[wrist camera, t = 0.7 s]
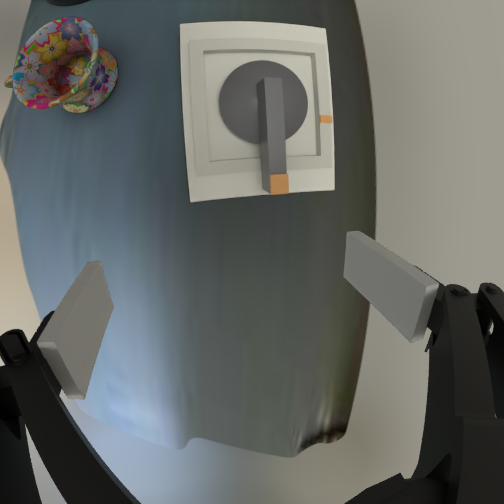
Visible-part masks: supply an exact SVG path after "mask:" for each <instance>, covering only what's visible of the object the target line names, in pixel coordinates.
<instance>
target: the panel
mask: <svg viewBox="0 0 504 504" xmlns="http://www.w3.org/2000/svg"><path fill="white" fill-rule="evenodd" d="M180 56H181V85H182V105H183V121H184V136H185V149H186V161H187V173H188V183H189V193H190V202H197V201H205V200H214V199H224V198H233V197H244V196H255V195H266V194H270V193H268V192H266V191H265V190H263V189H262V174H261V155H260V144H254V143H250V142H247V141H244V140H242V139H240V138H239V137H237V136H236V135H235V134H233V133H232V132H231V131H230V130H229V129H228V127H227V126H226V125H225V123H224V121H223V120H222V117H221V115H220V111H219V93H220V90H221V88H222V85H223V83H224V82H225V80H226V78H227V77H228V76H229V75H230V73H231V72H232V71H234V70H235V69H236V68H238V67H239V66H241V65H243V64H245V63H248V62H251V61H257V60H267V61H273V62H276V63H279V64H281V65H283V66H285V67H287V68H289V69H290V70H291V71H292V72H294V73H295V74H296V75H297V77H298V78H299V79H300V80H301V82H302V84H303V86H304V88H305V90H306V93H307V98H308V110H307V115H306V118H305V121H304V123H303V124H302V126H301V127H300V129H299V130H298V131H297V132H296V133H295V134H294V135H293V136H291V137H290V138H288V139H286V140H285V142H286V166H287V174H288V179H289V193H292V192H307V191H324V190H334V130H333V109H332V92H331V79H330V67H329V56H328V46H327V38H326V29H324V28H317V27H310V26H302V25H294V24H283V23H269V22H243V21H228V22H201V23H187V24H180Z"/></svg>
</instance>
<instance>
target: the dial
mask: <svg viewBox="0 0 504 504" xmlns="http://www.w3.org/2000/svg"><path fill="white" fill-rule="evenodd" d="M307 110H308V98H307V93H306V90H305V88H304V86H303V84H302V82H301V80H300V79H299V78H298V77H297V75H296V74H295V73H294V72H292V71H291V70H290V69H289V68H287V67H285V66H283V65H281V64H279V63H276V62H273V61H267V60H257V61H251V62H248V63H245V64H243V65H241V66H239V67H238V68H236V69H235V70H234V71H232V72H231V73H230V75H229V76H228V77H227V78H226V80H225V82H224V83H223V85H222V88H221V90H220V93H219V111H220V115H221V117H222V120H223V121H224V123H225V125H226V126H227V127H228V129H229V130H230V131H231V132H232V133H233V134H235V135H236V136H237V137H239V138H240V139H242V140H244V141H247V142H250V143H254V144H260V155H261V174H262V189H263V190H265V191H266V192H268V193H270V194H271V195H275V194H288V193H289V179H288V174H287V166H286V142H285V140H286V139H288V138H290V137H291V136H293V135H294V134H295V133H296V132H297V131H298V130H299V129H300V127H301V126H302V124H303V123H304V121H305V118H306V115H307Z"/></svg>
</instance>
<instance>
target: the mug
mask: <svg viewBox="0 0 504 504" xmlns="http://www.w3.org/2000/svg"><path fill="white" fill-rule="evenodd" d="M117 75H118V68H117V63H116V60H115V58H114V57H113V55H112V54H111V53H110V52H108V51H107V50H105V49H102V48H98V37H97V33H96V31H95V29H94V27H93V26H92V25H91V24H90V23H89V22H88V21H86V20H84V19H82V18H79V17H63V18H59V19H56V20H54V21H51V22H49V23H48V24H46V25H44V26H43V27H41V28H40V29H39V30H37V31H36V32H35V33H34V34H33V35H32V36H31V37H30V38H29V39H28V41H27V42H26V43H25V45H24V46H23V48H22V49H21V51H20V53H19V55H18V57H17V60H16V63H15V66H14V70H13V75H12V76H9V77H8V78H6V80H5V86H6V87H8V88H14V91H15V94H16V96H17V97H18V99H19V100H20V101H21V102H22V103H23V104H24V105H26V106H28V107H30V108H34V109H45V108H50V107H53V106H55V105H58V104H60V106H61V107H62V108H64V109H65V110H67V111H70V112H74V113H82V112H86V111H89V110H92V109H94V108H96V107H97V106H99V105H100V104H101V103H102V102H104V101H105V100H106V99H107V97H108V96H109V95H110V93H111V92H112V90H113V88H114V86H115V84H116V80H117Z"/></svg>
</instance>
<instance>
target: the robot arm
mask: <svg viewBox="0 0 504 504" xmlns="http://www.w3.org/2000/svg"><path fill="white" fill-rule="evenodd" d="M47 1H48V2H49V3H51V4H54V5H59V6H68V5H74V4H79V3H82V2H85V1H88V0H47ZM343 277H344V278H345V279H346V280H348V281H349V282H350V283H351V284H352V285H353V286H354V287H355V288H356V289H357V290H358V291H359V292H360V293H361V294H362V295H363V296H364V297H365V298H366V299H367V300H368V301H369V302H370V303H371V304H372V305H373V306H374V307H375V308H376V309H377V310H378V311H379V312H381V314H382V315H383V316H384V317H385V318H386V319H387V320H388V321H389V322H390V323H391V324H392V325H393V326H394V327H395V328H396V329H397V330H398V331H399V332H400V333H401V334H402V335H403V336H404V337H405V338H406V339H407V340H408V341H409V342H410V343H413V342H415V341H418V340H420V339H423V337H424V334H425V331H426V328H427V327H428V328H429V329H430V330H431V331H432V332H431V335H430V338H429V341H428V344H427V346H426V349H425V352H427V350H428V349H429V378H428V393H427V405H426V415H425V423H424V431H423V437H422V444H421V450H420V455H419V461H418V465H417V467H416V469H415V471H414V473H413V475H412V477H411V478H409V479H404V478H403V476H402V475H401V473H399V474H397V475H395V476H393V477H391V478H388V479H387V480H385V481H382V482H380V483H378V484H376V485H373V486H371V487H369V488H366V489H365V490H364V491H362V492H361V493H359V494H358V495H357V496H355V497H354V498H352V499H351V500H349V501H348V502H346V503H345V504H504V292H503V291H502V290H501V289H500V288H499V287H498V286H496V285H495V284H492V283H482V284H481V285H480V287H479V291H478V293H474V294H473V293H472V294H471V293H470V292H469V290H468V289H466V288H465V287H462V286H460V285H456V284H450V285H447V286H444V285H443V284H441V283H440V282H439V281H437V280H436V279H434V278H433V277H431V276H429V275H428V274H427V273H426V272H423V270H421V269H419V268H418V267H416V266H414V265H412V264H410V263H409V262H407V261H406V260H404V259H403V258H401V257H400V256H398V255H396V254H395V253H394V252H392V251H390V250H389V249H387V248H385V247H384V246H383V245H381V244H379V243H378V242H376V241H375V240H373V239H371V238H370V237H368V236H366V235H365V234H363V233H362V232H360V231H351V232H347V241H346V254H345V265H344V276H343ZM112 310H113V303H112V300H111V297H110V293H109V290H108V286H107V282H106V279H105V275H104V271H103V267H102V263H101V261H94V262H88V263H87V264H86V266H85V267H84V268H83V270H82V271H81V273H80V274H79V276H78V277H77V278H76V280H75V281H74V283H73V284H72V286H71V287H70V289H69V290H68V292H67V293H66V295H65V296H64V298H63V299H62V301H61V303H60V304H59V306H58V307H57V309H56V311H51V312H50V313H49V314H48V315H47V316H46V317H45V318H44V319H43V321H42V322H41V324H40V326H39V327H38V329H37V332H35V334H34V335H33V337H32V339H31V340H30V342H28V340H27V338H26V336H25V334H24V332H23V331H22V330H20V329H12V330H10V331H7V332H5V333H4V334H2V335H1V336H0V356H1V358H2V360H3V362H4V364H5V365H4V366H0V504H42V502H41V499H40V496H39V492H38V488H37V485H36V481H35V477H34V473H33V468H32V463H31V458H30V453H29V448H28V442H27V435H26V428H25V424H26V427H27V429H28V431H29V434H30V436H31V438H32V440H33V442H34V445H35V447H36V449H37V451H38V453H39V455H40V457H41V459H42V461H43V463H44V465H45V467H46V469H47V471H48V472H49V474H50V476H51V478H52V479H53V481H54V483H55V485H56V486H57V488H58V490H59V491H60V493H61V495H62V496H63V498H64V499H65V501H66V502H67V504H141V503H140V502H139V501H138V500H137V499H136V498H135V497H134V496H133V495H132V494H131V493H130V492H129V490H128V489H127V488H126V487H125V486H124V485H123V484H122V483H121V482H120V481H119V479H118V478H117V477H116V476H115V475H114V473H113V472H112V471H111V470H110V469H109V467H108V466H107V465H106V464H105V462H104V461H103V460H102V459H101V457H100V456H99V455H98V453H97V452H96V451H95V449H94V448H93V447H92V445H91V444H90V442H89V441H88V440H87V438H86V437H85V435H84V434H83V433H82V431H81V430H80V428H79V427H78V425H77V424H76V422H75V421H74V419H73V417H72V416H71V414H70V413H69V411H68V409H67V408H66V406H65V405H64V403H63V401H62V400H61V398H60V397H59V395H60V392H61V389H62V390H63V391H64V393H65V394H66V396H67V397H68V399H85V396H86V393H87V389H88V385H89V382H90V378H91V375H92V371H93V368H94V364H95V361H96V358H97V355H98V351H99V348H100V345H101V342H102V339H103V336H104V333H105V330H106V327H107V324H108V321H109V319H110V316H111V313H112ZM492 323H493V325H494V327H493V332H492V334H491V333H490V331H489V330H490V328H491V325H492ZM495 414H496V416H495Z"/></svg>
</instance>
